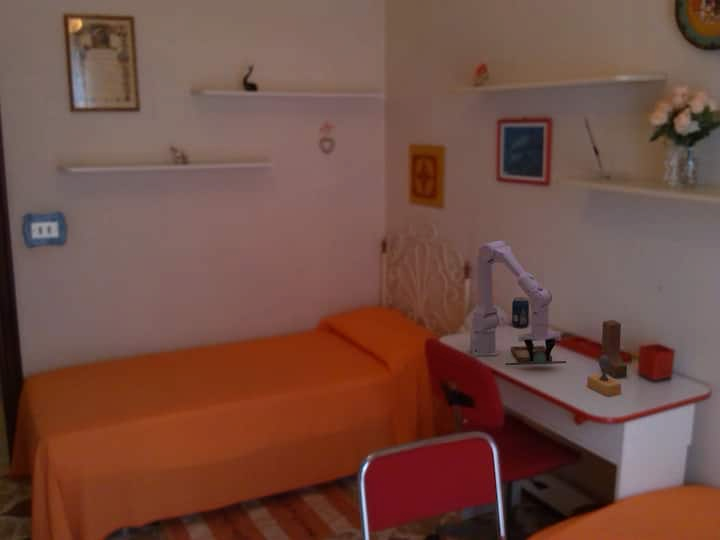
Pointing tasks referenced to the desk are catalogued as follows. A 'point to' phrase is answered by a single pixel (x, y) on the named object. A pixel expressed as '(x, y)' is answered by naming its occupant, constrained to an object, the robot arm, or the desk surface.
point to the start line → (535, 363)
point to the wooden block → (613, 348)
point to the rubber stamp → (604, 380)
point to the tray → (526, 353)
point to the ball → (539, 356)
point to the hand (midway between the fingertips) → (539, 359)
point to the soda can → (520, 312)
